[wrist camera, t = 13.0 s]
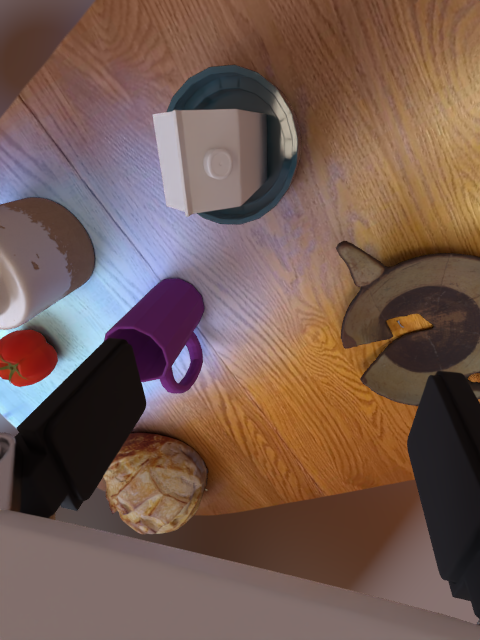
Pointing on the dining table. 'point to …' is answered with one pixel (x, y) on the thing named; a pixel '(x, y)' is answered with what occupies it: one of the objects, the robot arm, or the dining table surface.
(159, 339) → the mug
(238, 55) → the dining table surface
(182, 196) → the milk carton
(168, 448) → the bread
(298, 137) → the shallow pet bowl
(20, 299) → the vase
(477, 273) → the broken pan
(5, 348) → the tomato
